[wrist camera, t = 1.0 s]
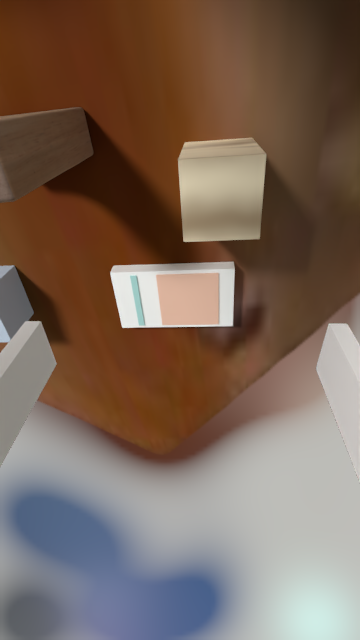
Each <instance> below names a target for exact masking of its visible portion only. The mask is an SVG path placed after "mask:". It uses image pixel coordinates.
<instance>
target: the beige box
mask: <svg viewBox="0 0 360 640" xmlns="http://www.w3.org/2000/svg"><path fill="white" fill-rule="evenodd" d="M265 165H266V153H265V152H264V151H263V150H262V148H261V147H260V146H259V145H258V144H257V143H256V142H255V140H254V139H253V138H241V139H227V140H213V141H199V142H185V144H184V146H183V149H182V151H181V154H180V156H179V159H178V167H179V182H180V197H181V212H182V227H183V242H198V241H223V240H248V239H260V228H261V216H262V203H263V191H264V178H265Z"/></svg>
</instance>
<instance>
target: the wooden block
mask: <svg viewBox="0 0 360 640" xmlns="http://www.w3.org/2000/svg"><path fill="white" fill-rule="evenodd" d="M92 155H93V147H92V143H91V139H90V134H89V130H88V126H87V121H86V117H85V113H84V110H83V108H81V107H75V108H66V109H58V110H50V111H42V112H34V113H25V114H17V115H9V116H1V117H0V203H2V202H13V201H16V200H17V199H19V198H21V197H22V196H24V195H26V194H27V193H29V192H31V191H33V190H34V189H36V188H38V187H39V186H41V185H43V184H44V183H46V182H48V181H50V180H51V179H53V178H55V177H56V176H58V175H60V174H61V173H63V172H65V171H67V170H68V169H70V168H72V167H74V166H75V165H77V164H79V163H81V162H82V161H84V160H85V159H87V158H89V157H90V156H92Z"/></svg>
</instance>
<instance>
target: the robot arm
mask: <svg viewBox="0 0 360 640" xmlns="http://www.w3.org/2000/svg"><path fill="white" fill-rule="evenodd" d="M56 364H57V363H56V361H55V358H54V355H53V353H52V350H51V347H50V344H49V342H48V339H47V336H46V334H45V331H44V328H43V326H42V323H41V321H25V322H24V324H23V325H22V326H21V327H20V329H19V330H18V331H17V333H16V334H15V335H14V336H13V338H12V339H11V340H10V342H9V343H8V344H7V345H6V347H5V348H4V349H3V350H2V352H1V353H0V467H1V465H2V463H3V461H4V459H5V457H6V455H7V454H8V452H9V450H10V448H11V446H12V445H13V443H14V441H15V439H16V437H17V435H18V434H19V432H20V430H21V428H22V426H23V424H24V423H25V421H26V419H27V417H28V415H29V414H30V412H31V410H32V408H33V406H34V404H35V403H36V401H37V399H38V397H39V395H40V393H41V392H42V390H43V388H44V386H45V384H46V382H47V381H48V379H49V377H50V375H51V373H52V372H53V370H54V368H55V366H56ZM316 370H317V373H318V376H319V378H320V381H321V384H322V386H323V388H324V391H325V394H326V397H327V399H328V402H329V404H330V407H331V410H332V412H333V415H334V417H335V420H336V423H337V425H338V428H339V430H340V433H341V435H342V438H343V441H344V443H345V446H346V448H347V451H348V453H349V456H350V459H351V461H352V464H353V466H354V469H355V472H356V474H357V477H358V480H359V482H360V345H359V343H358V341H357V340H356V338H355V336H354V335H353V333H352V331H351V330H350V328H349V326H348V325H347V324H339V323H338V324H334V323H329V324H328V328H327V331H326V335H325V339H324V342H323V345H322V349H321V352H320V356H319V359H318V363H317V366H316Z"/></svg>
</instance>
